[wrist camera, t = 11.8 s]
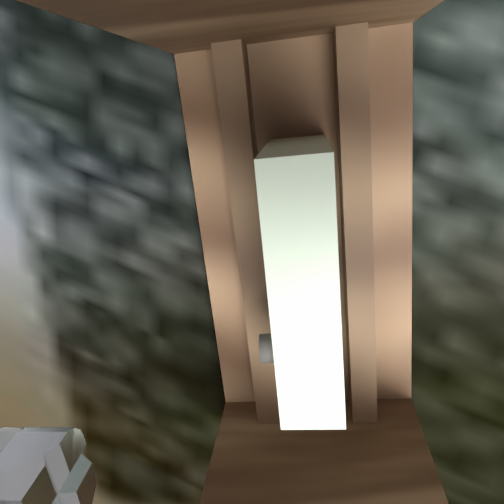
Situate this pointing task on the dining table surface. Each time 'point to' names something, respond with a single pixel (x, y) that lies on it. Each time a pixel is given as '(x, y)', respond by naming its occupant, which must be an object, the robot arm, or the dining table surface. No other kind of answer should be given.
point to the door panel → (302, 281)
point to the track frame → (348, 225)
